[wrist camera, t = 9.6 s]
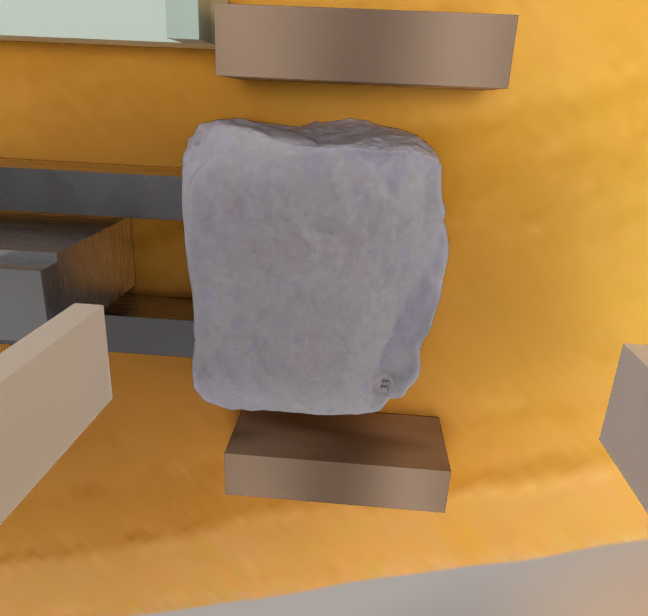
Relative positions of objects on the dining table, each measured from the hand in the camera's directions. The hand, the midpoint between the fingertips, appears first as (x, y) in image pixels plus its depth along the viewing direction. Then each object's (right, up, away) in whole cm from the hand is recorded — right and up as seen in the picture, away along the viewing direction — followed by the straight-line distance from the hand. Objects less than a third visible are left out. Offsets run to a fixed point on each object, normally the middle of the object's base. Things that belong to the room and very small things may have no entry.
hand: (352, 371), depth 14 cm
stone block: (-1, +4, +10) cm, 10 cm away
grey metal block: (-13, +4, +10) cm, 17 cm away
